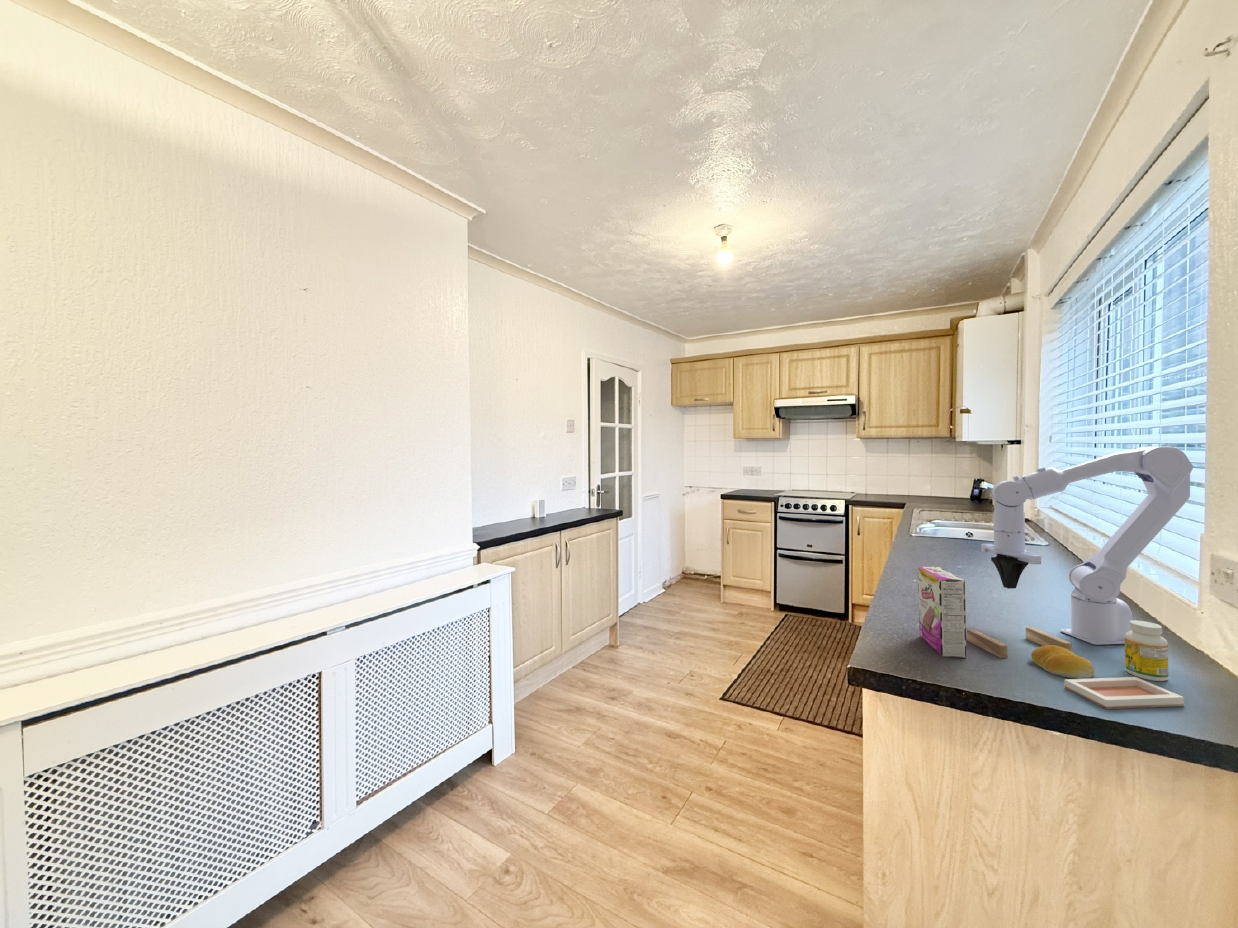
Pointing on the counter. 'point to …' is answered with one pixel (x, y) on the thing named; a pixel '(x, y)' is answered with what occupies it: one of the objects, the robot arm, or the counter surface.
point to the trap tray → (1123, 693)
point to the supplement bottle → (1146, 651)
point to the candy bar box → (942, 611)
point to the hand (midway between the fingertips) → (1009, 587)
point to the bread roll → (1062, 662)
